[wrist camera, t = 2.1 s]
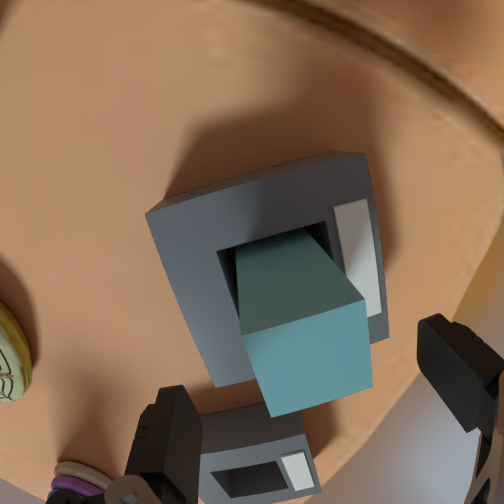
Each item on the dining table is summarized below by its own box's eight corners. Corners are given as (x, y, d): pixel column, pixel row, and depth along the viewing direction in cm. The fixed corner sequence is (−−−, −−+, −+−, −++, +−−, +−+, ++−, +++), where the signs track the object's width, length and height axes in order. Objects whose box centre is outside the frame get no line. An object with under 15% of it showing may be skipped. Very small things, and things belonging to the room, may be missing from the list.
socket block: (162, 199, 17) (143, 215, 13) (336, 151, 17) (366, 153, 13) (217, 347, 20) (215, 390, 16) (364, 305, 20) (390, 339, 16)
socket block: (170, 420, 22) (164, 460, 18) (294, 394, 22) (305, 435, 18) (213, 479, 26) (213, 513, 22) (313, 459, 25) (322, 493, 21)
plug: (234, 236, 18) (241, 336, 9) (296, 219, 18) (365, 298, 9) (254, 303, 20) (276, 430, 10) (311, 287, 19) (373, 401, 10)
